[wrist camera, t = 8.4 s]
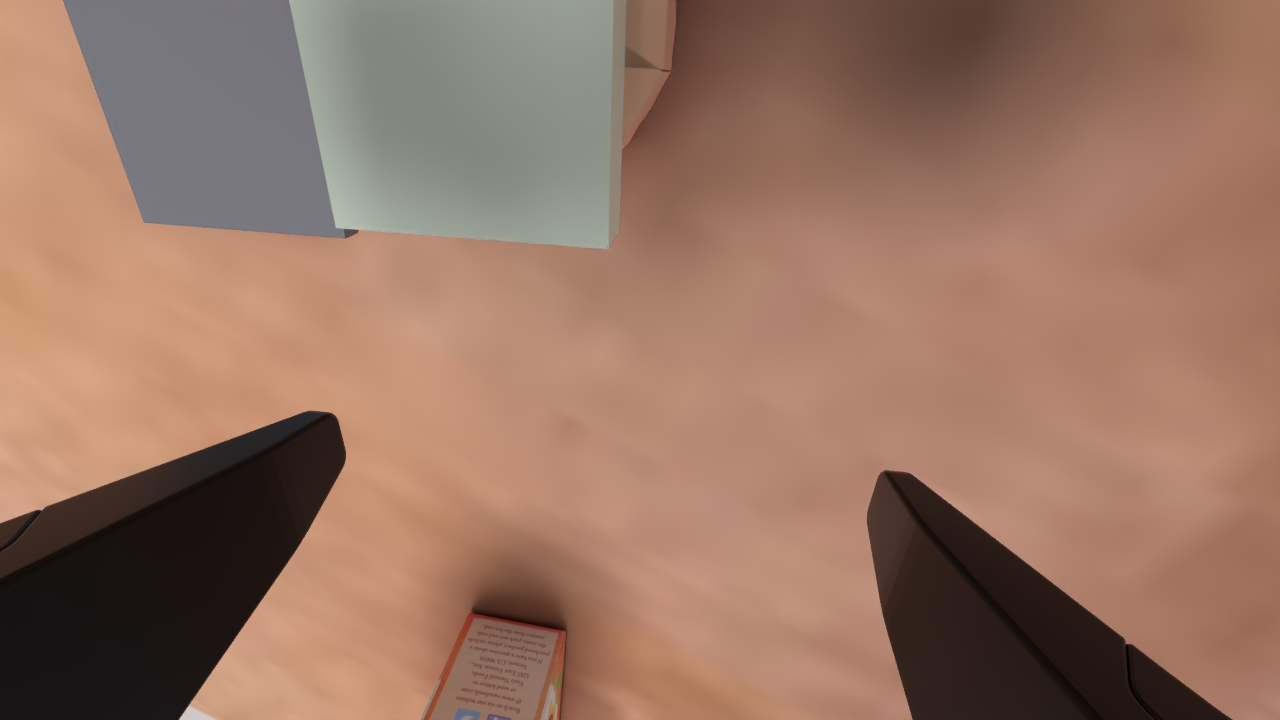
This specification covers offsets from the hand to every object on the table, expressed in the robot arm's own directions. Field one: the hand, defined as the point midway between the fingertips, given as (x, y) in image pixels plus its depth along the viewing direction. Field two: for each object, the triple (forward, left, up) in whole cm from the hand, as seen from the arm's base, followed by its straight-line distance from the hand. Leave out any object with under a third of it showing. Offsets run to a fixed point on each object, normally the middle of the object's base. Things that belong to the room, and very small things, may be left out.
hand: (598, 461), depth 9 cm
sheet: (+5, -7, -8) cm, 12 cm away
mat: (+16, -5, -12) cm, 21 cm away
